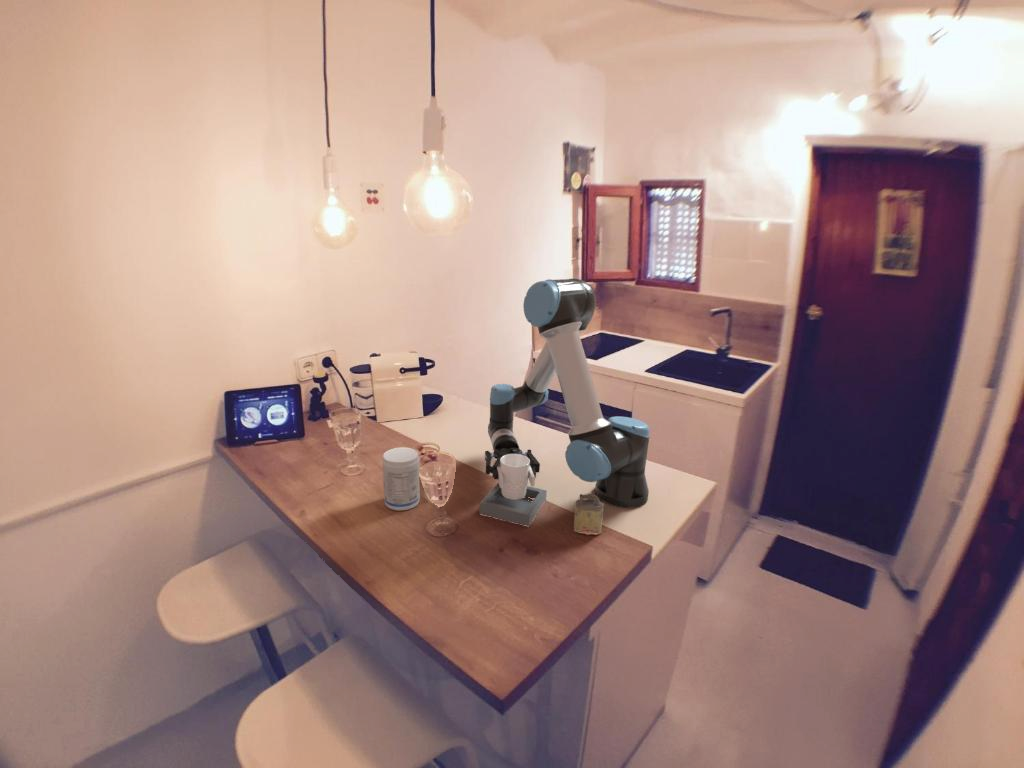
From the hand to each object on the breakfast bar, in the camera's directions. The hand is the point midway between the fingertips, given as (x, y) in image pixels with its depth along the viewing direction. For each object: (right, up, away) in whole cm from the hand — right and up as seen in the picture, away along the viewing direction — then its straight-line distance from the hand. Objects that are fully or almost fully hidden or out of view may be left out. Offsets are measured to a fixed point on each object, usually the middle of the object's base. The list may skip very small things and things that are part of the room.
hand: (517, 482), depth 128 cm
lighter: (+18, -12, -2) cm, 22 cm away
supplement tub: (-32, -7, +8) cm, 34 cm away
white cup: (-1, -4, +6) cm, 8 cm away
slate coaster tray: (-1, -9, +8) cm, 12 cm away
